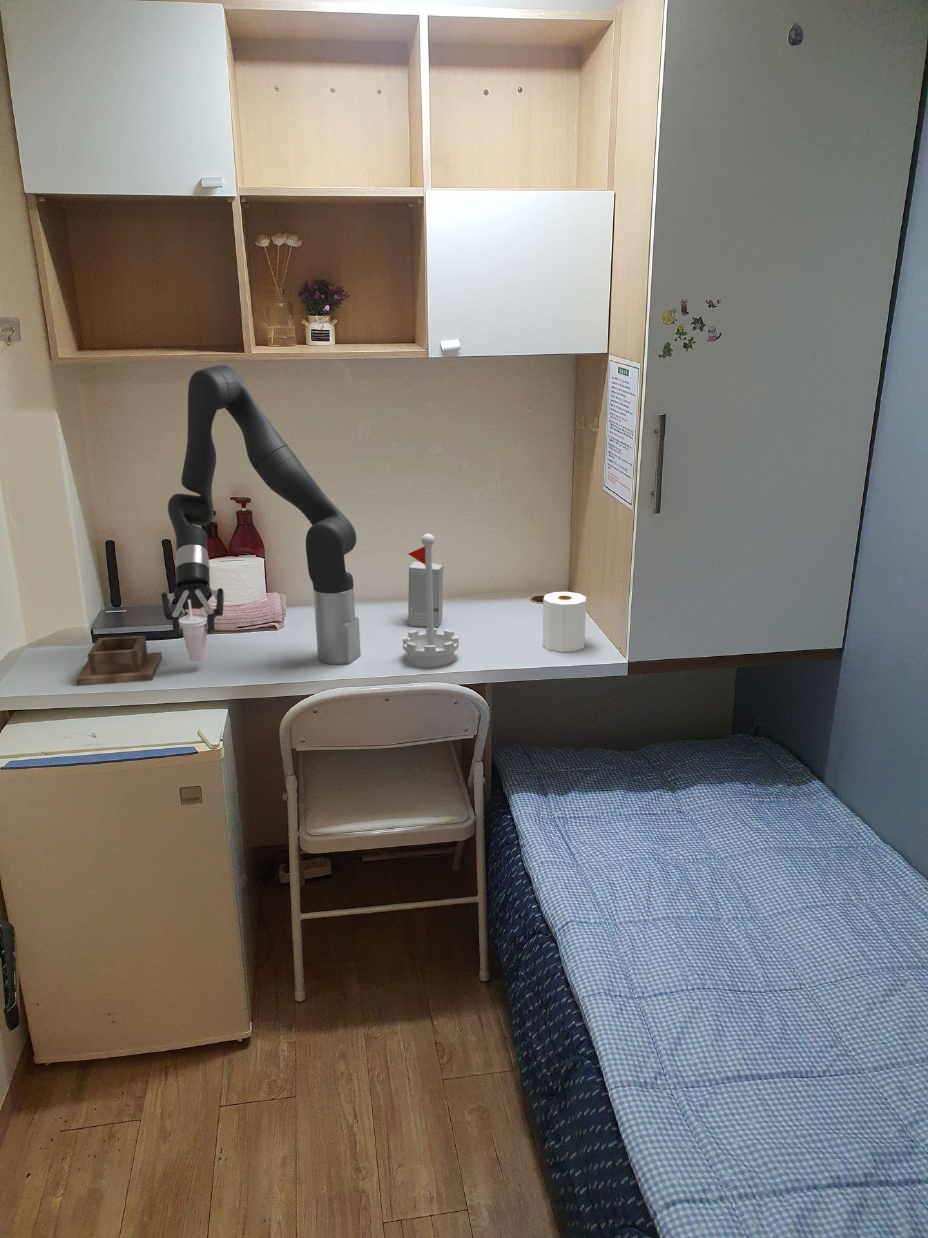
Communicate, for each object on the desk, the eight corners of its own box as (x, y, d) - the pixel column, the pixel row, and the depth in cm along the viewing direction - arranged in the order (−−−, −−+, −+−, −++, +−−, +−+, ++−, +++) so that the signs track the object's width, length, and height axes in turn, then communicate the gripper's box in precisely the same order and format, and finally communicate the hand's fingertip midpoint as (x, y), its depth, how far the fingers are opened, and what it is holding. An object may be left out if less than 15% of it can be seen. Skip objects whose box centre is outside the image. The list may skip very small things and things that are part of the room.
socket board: (161, 657, 215) (158, 632, 213) (152, 680, 202) (148, 653, 200) (91, 662, 213) (87, 636, 210) (76, 685, 199) (72, 657, 197)
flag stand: (467, 652, 216) (465, 529, 206) (445, 671, 205) (443, 542, 195) (417, 646, 221) (414, 525, 211) (393, 664, 209) (388, 538, 200)
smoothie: (201, 651, 212) (194, 594, 207) (218, 657, 208) (211, 599, 203) (178, 659, 207) (169, 601, 202) (194, 665, 203) (186, 606, 198)
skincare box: (408, 627, 234) (406, 567, 229) (413, 618, 241) (411, 560, 236) (440, 628, 233) (439, 568, 228) (444, 619, 239) (443, 561, 234)
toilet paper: (587, 652, 215) (589, 603, 212) (544, 652, 215) (545, 604, 211) (582, 637, 225) (583, 591, 221) (540, 638, 225) (541, 591, 221)
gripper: (157, 563, 206) (157, 628, 199) (222, 558, 209) (224, 623, 201) (163, 579, 213) (163, 643, 206) (226, 574, 215) (228, 637, 208)
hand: (194, 633), depth 203 cm, fingers closed on smoothie, 6 cm apart
